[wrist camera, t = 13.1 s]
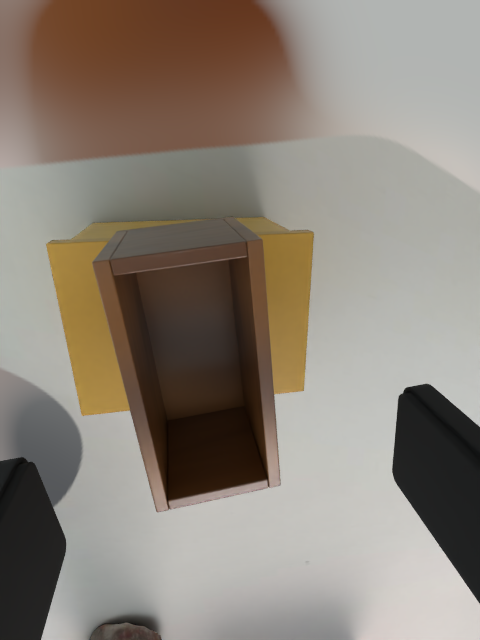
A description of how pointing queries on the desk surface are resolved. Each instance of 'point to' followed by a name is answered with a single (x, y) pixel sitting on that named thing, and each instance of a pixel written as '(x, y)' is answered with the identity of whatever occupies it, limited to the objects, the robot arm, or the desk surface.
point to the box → (92, 328)
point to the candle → (124, 632)
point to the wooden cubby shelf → (194, 356)
